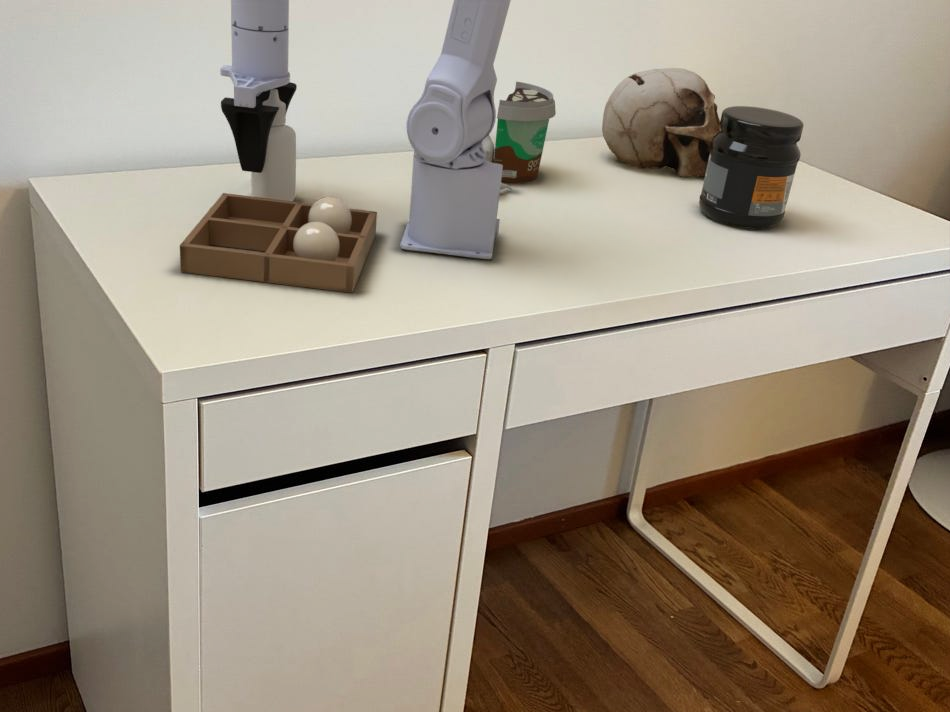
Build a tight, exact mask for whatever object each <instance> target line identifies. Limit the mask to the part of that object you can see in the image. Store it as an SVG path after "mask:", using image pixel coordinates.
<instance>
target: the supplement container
mask: <svg viewBox="0 0 950 712" xmlns="http://www.w3.org/2000/svg"><path fill="white" fill-rule="evenodd" d="M804 126H805V125H804V122H803V121H802V120H801V119H800V118H799V117H797V116H795V115H792V114H789V113H786V112H783V111H779V110H775V109H770V108H765V107H757V106H747V105H736V106H735V105H734V106H729V107H728V106H727V107H726V108H723V110H722V112H721V116H720V125H719V127H720V128H721V131H719V132H718V133H717V134H716V135H715V136H714V137H713V138H712V141H711V151H710V156H709V160H708V165H707V169H706V174H705V177H704V179H703V184H702V189H701V193H700V195H699V199H698V205H699V208H700V210H701V211H702V212H703V214H705V215H706V216H707V217H708V218H710V219H712V220H714V221H716V222H719V223H721V224H724V225H727V226H732V227H736V228H743V229H754V230H755V229H758V230H760V229H768V228H772V227H775V226H777V225H779V224H780V223H782V221H783V219H784V217H785V215H786V208H787V205H788V201H789V197H790V192H791V189H792V185H793V182H794V179H795V173H796V169H797V166H798V163H799V162H800V159H801V149H800V148H799V146H798V143H799V142H800V141H801V137H802V134H803V130H804Z"/></svg>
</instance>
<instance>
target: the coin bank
mask: <svg viewBox="0 0 950 712" xmlns="http://www.w3.org/2000/svg"><path fill="white" fill-rule="evenodd" d="M715 99H716V95H715V94H714V93H713V92H712V91H711V90H710V87H709V86H708V84H707V82H706V80H705V79H704V78H702V76H700V75H699V74H698V73H696V72H694V71H692V70H689V69H686V68H678V67H668V68H652V69H646V70H643V71H638V72H635V73H633V74H631V75H628V76H626V77H625V78H624V79H622V80H621V81H620V82H619V83H618V84H617V85H616V87H615V88H614V89H613V91H612V92H611V94H610V96H609V97H608V99H607V100H606V103H605V106H604V109H603V115H602V125H601V132H602V136H603V139H604V141H605V143H606V145H607V147H608V149H609V150H610V151H611V153H612V154H613V155H615V158H616V159H617V161H619V162H620V163H623V164H625V165H629V166H630V167H636V168H637V169H663V168H666V167H667V168H669V169H672V170H674V171H675V172H676V175H678V176H680V177H684V178H687V177H690V176H694V177H700V178H705V174H706V169H707V165H708V160H709V156H710V151H711V141H712V138H713V137H714V136H715V135H716V134H717V133H718V132H719V131H721V128H720V127H719V125H720V120H721V118H720V117H719V113H718V104H717V103H715Z"/></svg>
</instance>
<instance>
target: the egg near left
mask: <svg viewBox="0 0 950 712" xmlns="http://www.w3.org/2000/svg"><path fill="white" fill-rule="evenodd" d="M312 204H313V205H312V207H311V209H310V211H309V215H308V223H309V222H322V223H325V224H327V225H329V226H330V227H331V228H332V229H333V230H334V231H335V232H336V233H343V234H348V232H349V231H350V229H351V225H352V215H351V212H350V210H349V208H350V207H348V205H347V204H346V203H345V202H344V201H343V200H341V199H339V198H338V197H333V196H325V197H321V198H319V199H317V200H316V201H315V202H314V203H312Z"/></svg>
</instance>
